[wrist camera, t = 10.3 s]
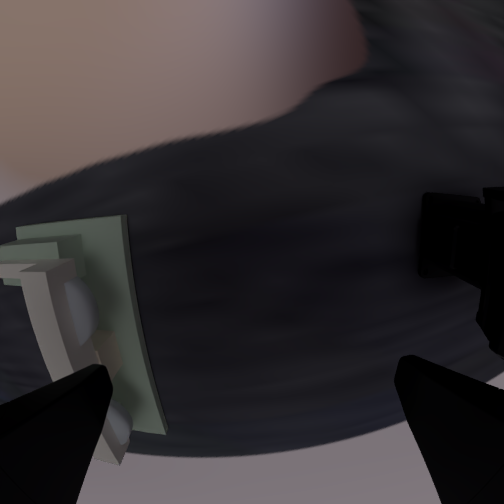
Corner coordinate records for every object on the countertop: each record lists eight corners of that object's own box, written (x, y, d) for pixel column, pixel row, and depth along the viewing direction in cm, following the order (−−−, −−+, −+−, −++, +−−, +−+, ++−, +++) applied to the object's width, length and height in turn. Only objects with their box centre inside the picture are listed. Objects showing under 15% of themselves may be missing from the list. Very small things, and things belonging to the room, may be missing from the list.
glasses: (89, 257, 15) (61, 272, 12) (142, 443, 18) (133, 468, 15) (3, 260, 15) (-23, 270, 12) (61, 423, 18) (48, 442, 15)
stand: (126, 214, 18) (98, 221, 14) (168, 427, 23) (159, 457, 19) (23, 225, 18) (-8, 233, 14) (76, 410, 23) (61, 433, 19)
